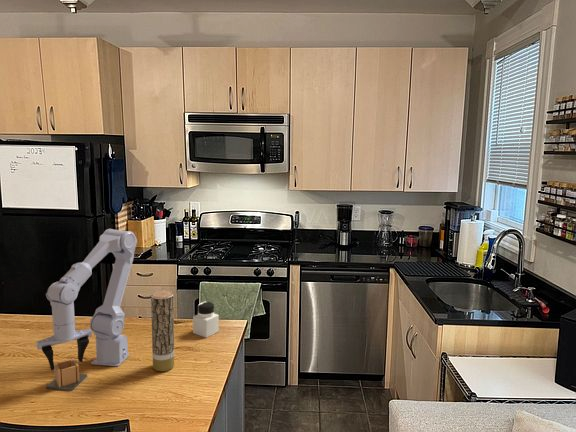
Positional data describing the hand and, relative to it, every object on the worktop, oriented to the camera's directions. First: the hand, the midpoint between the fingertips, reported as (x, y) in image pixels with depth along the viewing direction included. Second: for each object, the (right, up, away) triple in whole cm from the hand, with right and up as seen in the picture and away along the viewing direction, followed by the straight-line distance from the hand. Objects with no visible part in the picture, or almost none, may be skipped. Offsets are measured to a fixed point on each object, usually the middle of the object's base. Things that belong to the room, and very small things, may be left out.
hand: (66, 364), depth 127 cm
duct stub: (0, -6, +1) cm, 6 cm away
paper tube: (+26, -5, +11) cm, 29 cm away
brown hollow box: (0, -5, +1) cm, 5 cm away
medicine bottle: (+35, -1, +38) cm, 52 cm away
